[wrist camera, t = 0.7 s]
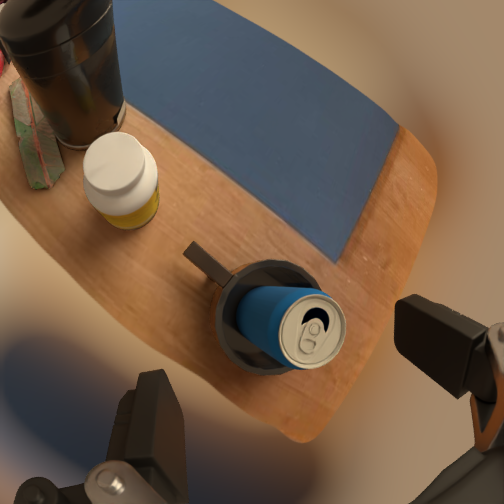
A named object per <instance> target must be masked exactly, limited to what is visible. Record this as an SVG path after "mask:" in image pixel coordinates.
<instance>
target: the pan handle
mask: <svg viewBox="0 0 504 504" xmlns="http://www.w3.org/2000/svg"><path fill="white" fill-rule="evenodd" d="M183 255H184V256H185V257H186V258H187V259H188V260H189V261H191V262H192V263H193V264H194V265H195V266H196V267H198V268H199V269H200V270H201V271H202V272H204V273H205V274H206V275H207V276H208V277H209V278H210V279H211V280H212V281H213V282H215V283H217V284H218V285H219V286H220V287H224V286H225V285H226V284H227V283H228V282H229V280H230V279H231V278H232V277H233V274H232V273H231V272H230V271H228V270H227V269H226V268H225V267H224V266H223V265H221V264H220V263H219V262H218V261H217V260H216V259H214V258H213V257H212V256H211V255H210V254H209V253H207V252H206V251H205V250H204V249H203V248H202V247H200V246H199V245H198V244H197V243H196V242H195V241H193V242H192V243H191V244H190V245H189V247H188V248H187V249H186V250H185V251H184V253H183Z"/></svg>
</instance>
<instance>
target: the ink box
mask: <svg viewBox="0 0 504 504" xmlns="http://www.w3.org/2000/svg"><path fill="white" fill-rule="evenodd" d="M3 66H4V56H3V54H2V52H1V50H0V76H1V75H2V71H3Z"/></svg>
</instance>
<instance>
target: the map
mask: <svg viewBox="0 0 504 504" xmlns="http://www.w3.org/2000/svg"><path fill="white" fill-rule="evenodd" d="M9 88H10V94H11V99H12V106H13V115H14V121H15V128H16V134H17V137H20V141H19V143H18V144H19V149H20V153H21V157H22V161H23V165H24V169H25V173H26V176H27V179H28V182H29V185H30V187H31V186H32V188H35V190H37V189H40V188H44V187H46V188H53V185H52V184H53V183H55V181H56V180H57V179H58V178H60V176H59V174H61V173H62V172H64V171H65V167H64V165H63V162H62V159H61V155H60V152H59V149H58V145H57V142H56V138H55V135H54V131H53V130H52V128H51V126H50V125H49V123H48V122H47V120H46V118H45V117H44V115H43V114H42V112H41V111H40V109H39V107H38V106H37V104H36V102H35V101H34V99H33V97H32V96H31V94H30V92H29V91H28V89H27V87H26V86H25V84H24V82H23V80H22V79H21V77H19V79H17V80H15V81H14V82H12V85H10V86H9Z"/></svg>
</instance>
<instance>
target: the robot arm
mask: <svg viewBox="0 0 504 504" xmlns="http://www.w3.org/2000/svg"><path fill="white" fill-rule="evenodd" d="M0 40H1V42H2V44H3V46H4V48H5V50H6V51H7V53H8V55H9V57H10V59H11V61H12V63H13V65H14V66H15V68H16V70H17V72H18V73H19V75H20V77H21V79H22V80H23V82H24V84H25V86H26V87H27V89H28V91H29V92H30V94H31V96H32V97H33V99H34V101H35V102H36V104H37V106H38V107H39V109H40V111H41V112H42V114H43V115H44V117H45V118H46V120H47V122H48V123H49V125H50V126H51V128H52V130H53V131H54V133H55V135H56V137H57V139H58V140H59V141H60V143H61V144H62V145H64V146H65V147H67V148H69V149H72V150H81V151H82V150H88V148H89V147H90V145H91V144H92V143H93V142H94V141H95V140H97V139H98V138H99V137H101V136H103V135H105V134H108V133H112V132H117V131H118V130H119V129H120V127H121V125H122V123H123V121H124V119H125V115H126V104H125V99H124V96H123V91H122V84H121V77H120V70H119V63H118V55H117V47H116V38H115V27H114V18H113V4H112V0H8V1H7V2H6V4H5V6H4V7H3V8H2V10H1V12H0ZM394 321H395V322H394V343H395V346H396V348H397V350H398V352H399V353H400V354H401V355H403V356H404V357H405V358H407V359H408V360H409V361H410V362H411V363H413V364H414V365H415V366H417V367H418V368H419V369H420V370H421V371H423V372H424V373H425V374H426V375H428V376H429V377H430V378H431V379H433V380H434V381H435V382H436V383H438V384H439V385H440V386H442V387H443V388H444V389H445V390H447V391H448V392H449V393H450V394H452V395H453V396H454V397H455V398H457V399H459V398H460V397H462V396H463V395H464V394H466V393H467V392H468V391H470V392H471V393H472V394H471V397H470V406H471V413H472V420H473V428H474V438H475V444H474V447H472V448H471V449H470V450H468V451H467V452H466V453H465V454H463V455H462V456H461V457H460V458H458V459H457V460H456V461H455V462H453V463H452V464H451V465H449V466H448V467H447V468H445V469H444V470H443V471H442V472H441V473H440V474H439V475H438V476H437V477H436V478H435V479H434V481H433V482H432V483H431V484H430V485H429V486H428V487H427V488H426V489H425V490H424V491H423V492H422V493H421V494H420V495H419V496H418V497H417V498H416V499H415V500H413V501H412V502H411V503H409V504H504V322H503V323H497V324H494V325H492V326H491V327H490V328H488V327H486V326H484V325H482V324H480V323H478V322H476V321H474V320H472V319H470V318H468V317H466V316H464V315H460V313H458V312H456V311H454V310H453V311H452V309H450V308H448V307H446V306H444V305H442V304H438V303H434V302H432V301H429V300H428V299H426V298H423V297H421V296H419V295H417V294H412V295H410V296H408V297H405V298H403V299H400V300H398V301H397V302H396V304H395V320H394ZM114 423H115V425H114V426H113V429H112V434H111V438H110V442H109V447H108V452H107V457H106V461H105V462H103V463H100V464H98V465H97V466H95V467H94V468H93V469H92V470H91V471H90V472H89V473H88V475H87V476H86V479H85V483H82V484H79V485H74V486H69V487H65V488H60V489H58V488H57V487H56V486H55V485H54V484H53V483H52V482H51V481H50V480H48V479H46V478H43V477H34V478H31V479H28V480H26V481H25V482H24V483H23V484H22V485H21V486H20V487H19V489H18V491H17V493H16V497H15V500H14V504H185V503H189V498H188V485H187V472H186V455H185V434H184V418H183V414H182V410H181V407H180V404H179V402H178V400H177V398H176V396H175V393H174V391H173V389H172V386H171V384H170V382H169V379H168V377H167V375H166V373H165V371H164V370H163V369H159V370H153V371H148V372H142V373H140V374H139V377H138V381H137V386H136V389H135V390H128V391H127V393H126V394H125V395H124V396H123V398H122V399H121V400H120V402H119V405H118V409H117V415H116V417H115V421H114Z"/></svg>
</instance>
